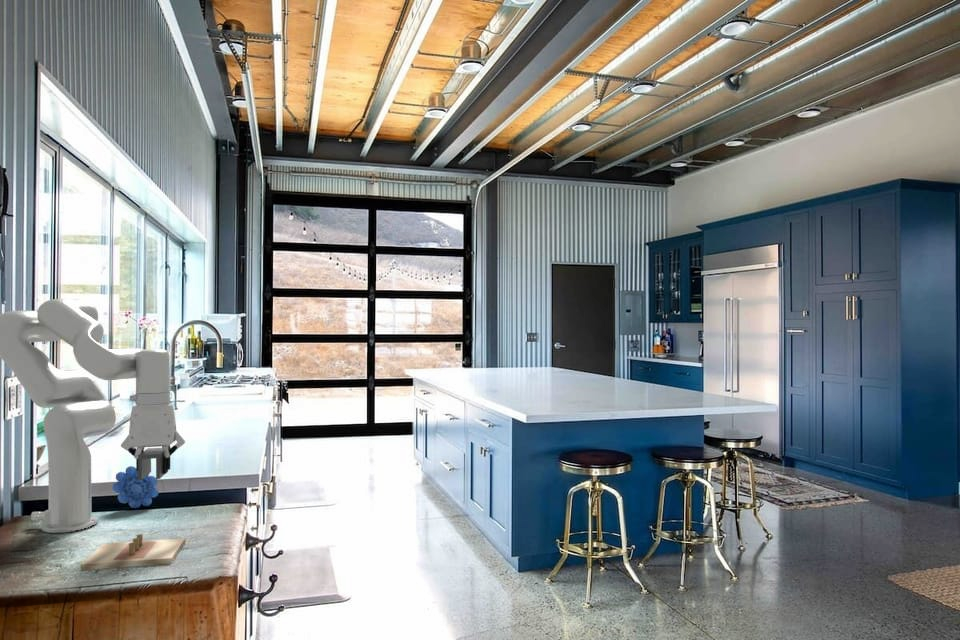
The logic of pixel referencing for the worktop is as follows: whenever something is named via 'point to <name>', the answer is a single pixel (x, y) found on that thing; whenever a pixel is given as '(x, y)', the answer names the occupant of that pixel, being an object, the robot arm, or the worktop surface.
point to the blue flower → (135, 488)
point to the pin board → (134, 553)
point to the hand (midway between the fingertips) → (153, 472)
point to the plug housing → (145, 462)
